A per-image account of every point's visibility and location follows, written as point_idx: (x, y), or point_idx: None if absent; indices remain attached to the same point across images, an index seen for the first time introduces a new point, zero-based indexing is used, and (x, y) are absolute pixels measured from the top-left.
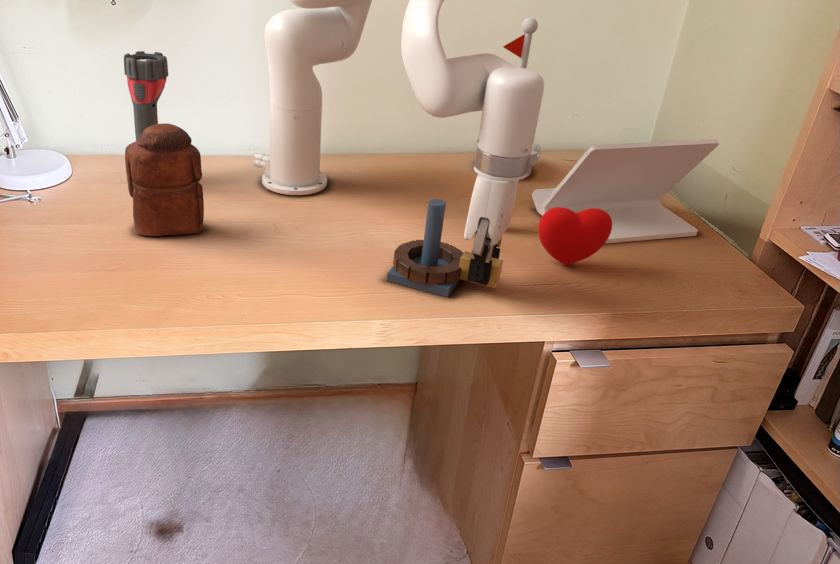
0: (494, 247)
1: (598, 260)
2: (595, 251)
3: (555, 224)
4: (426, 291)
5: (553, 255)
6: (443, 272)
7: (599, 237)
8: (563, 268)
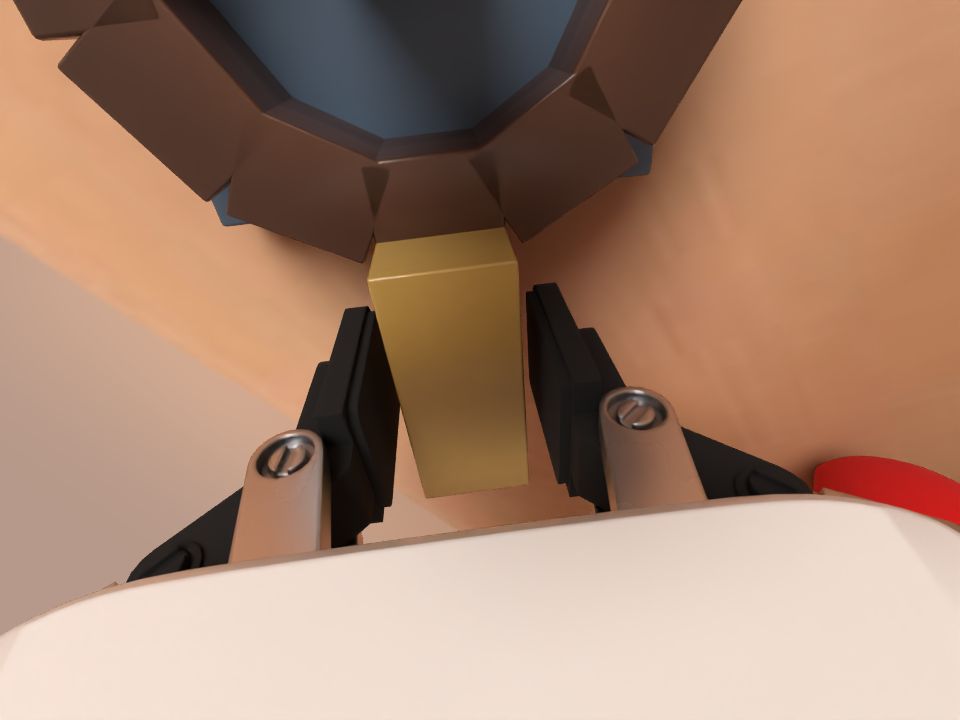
0: (574, 477)
1: None
2: None
3: None
4: None
5: (819, 484)
6: (195, 181)
7: None
8: (790, 467)
